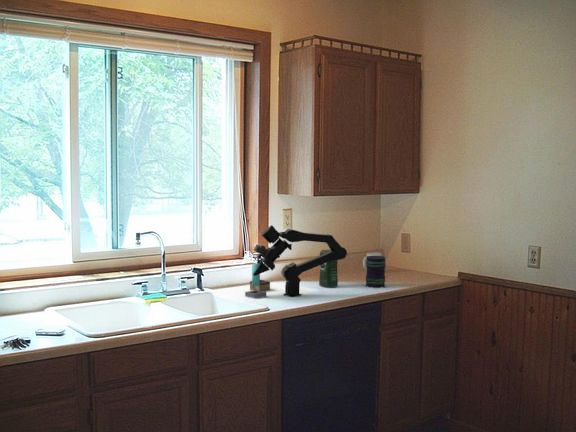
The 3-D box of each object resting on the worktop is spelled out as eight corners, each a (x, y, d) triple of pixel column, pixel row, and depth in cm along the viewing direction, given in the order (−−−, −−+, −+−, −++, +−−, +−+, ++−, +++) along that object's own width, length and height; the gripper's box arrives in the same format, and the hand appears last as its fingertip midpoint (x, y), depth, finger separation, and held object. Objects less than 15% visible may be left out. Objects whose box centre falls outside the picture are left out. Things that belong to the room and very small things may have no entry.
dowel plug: (259, 284, 303) (259, 263, 302) (259, 286, 300) (259, 264, 299) (252, 284, 303) (252, 263, 302) (252, 286, 299) (252, 264, 298)
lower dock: (266, 296, 301) (266, 292, 301) (254, 298, 297) (254, 294, 296) (256, 294, 307) (256, 290, 306) (245, 296, 302) (245, 291, 302)
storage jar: (388, 285, 333) (388, 256, 332) (380, 288, 325) (380, 259, 324) (370, 283, 338) (371, 255, 337) (362, 286, 330) (362, 257, 329)
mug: (374, 270, 381) (374, 252, 380) (384, 272, 374) (384, 253, 373) (358, 272, 375) (358, 253, 374) (367, 274, 368) (368, 255, 367)
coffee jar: (340, 287, 327) (341, 250, 326) (327, 288, 323) (328, 251, 322) (329, 284, 336) (329, 248, 334) (316, 285, 331) (317, 249, 330)
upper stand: (269, 290, 318) (270, 281, 317) (259, 291, 313) (259, 283, 313) (260, 288, 323) (260, 279, 322) (249, 289, 318) (249, 281, 318)
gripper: (260, 236, 309) (238, 259, 308) (268, 240, 291) (243, 265, 290) (277, 252, 312) (254, 275, 310) (285, 257, 294) (261, 282, 292)
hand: (253, 274), depth 301 cm, fingers closed on dowel plug, 4 cm apart
